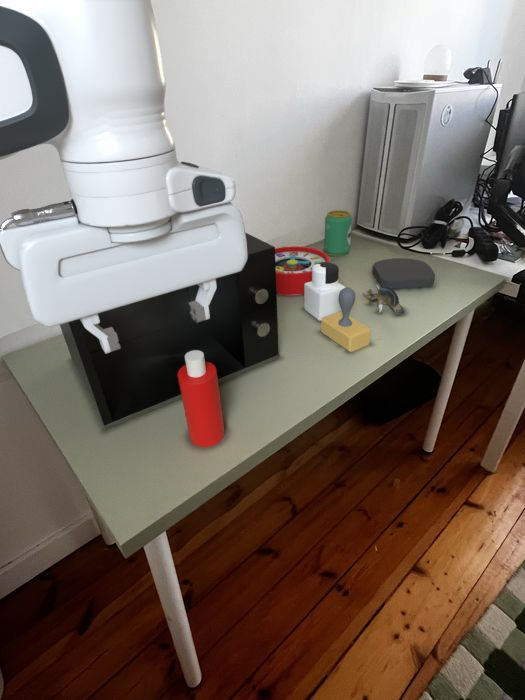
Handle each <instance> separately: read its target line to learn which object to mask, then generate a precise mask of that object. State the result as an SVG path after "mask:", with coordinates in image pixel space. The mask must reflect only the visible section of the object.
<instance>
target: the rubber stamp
mask: <svg viewBox="0 0 525 700" xmlns="http://www.w3.org/2000/svg"><path fill="white" fill-rule="evenodd" d="M338 300H339V304H340V307H341V310H342V312H338V313H335V314H332V315H329V316H327V317H324V318H322V320H321V321H320V323H321V325H320V332H321V333H322V334H323V335H325V336H327V337H328V338H329V339H330V340H332V341H334V342H335V343H336V344H338V345H339V346H341V347H342V348H344V349H345V350H347V351H348V352H350V353H352V352H355V351H357V350H359V349H362V348H364V347H366V346H369V345H370V341H371V331H372V330H371V328H369V327H367V326H366V325H365V324H363V323H361V322H359V321H358V320H356V319H354V318H352V317H351V316H350V313H351V311H352V308H353V306H354V305H355V302H356V293H355V290H354V289H353V288H351V287H346V288H344V289H342V290H341V291H340V293H339V298H338Z"/></svg>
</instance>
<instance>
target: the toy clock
mask: <svg viewBox="0 0 525 700" xmlns="http://www.w3.org/2000/svg"><path fill="white" fill-rule="evenodd" d="M275 261H276V289H277V295H281V296H302V295H304V284H305V283H307V282H311V281H312V267H313V266H314V265H315V264H318V263H321V262H330V257H329V255H328V254H327V253H326V252H324V251H322V250H320V249H317V248H313V247H308V246H295V245H293V246H281V247H275Z"/></svg>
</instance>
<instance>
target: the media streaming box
mask: <svg viewBox="0 0 525 700" xmlns="http://www.w3.org/2000/svg"><path fill="white" fill-rule="evenodd" d="M372 273H373V275H374V278H375V279H376V281H377V283H378V284H379V285H380V286H381V287H383V286H385V287H389V288H392V289H416V288H427V287H431V286H433V285H434V284H435V280H436V274H435V271H434V270H433V268H432V267H431V266H430V265H429V264H428V263H427V262H425V261H423V260H419V259H415V258H409V257H407V258H406V257H397V258H396V257H394V258H386V259H381V260H378V261H376V262H374V263H373V266H372Z"/></svg>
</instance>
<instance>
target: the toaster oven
mask: <svg viewBox="0 0 525 700" xmlns="http://www.w3.org/2000/svg"><path fill="white" fill-rule="evenodd" d="M245 234H246V241H247V251H248V259H247V262H246V264H245V266H244V268H243V269H242V270H241V271H240V272H237V273H233V274H230V275H226V276H223V277H220V278H216V285H217V288H216V291H215V293H214V295H213V298H212V300H211V302H210V305H208V306H209V314H210V319H207V320H204V321H201V322H198V323H196V322H195V320H193V319H192V318H191V315H190V311H191V310H190V309H189V304H188V303H190V302H193V301H196V300H195V299H196V296H197V293H198V290H199V287H200V286H199V285H197V284H196V285H192V286H189V287H186V288H182V289H179V290H175V291H172V292H169V293H165V294H162V295H158V296H155V297H152V298H148V299H145V300H142V301H138V302H135V303H131V304H128V305H125V306H121V307H118V308H114V309H111V310H108V311H104V312H101V313H98V316H99V320H100V323H98V325H99V326H100V327H102V328H103V329H106V328H110V327H112V328H113V329H114V331H115V332H116V334H117V336H118V339H119V341H118V342H119V344H120V346H121V349H118V350H115V351H113V352H110V353H107V354H105V352H104V350H103V349H102V346H101V344H100V341H99V338H97V337H96V336H95V335H93V334H92V333H91V332H90V331H88V330H87V329H86V328H85V327H84V326H83V324H82V322H81V320H80V319H77V320H74V321H70V322H67V323H64V324H60V325H59V327H60V329H61V333H62V336H63V339H64V341H65V344H66V346H67V349H68V353H69V355H70V358H71V360H72V362H73V365H74V367H75V370H76V371H77V373H78V375H79V378H80V379H81V381H82V384H83V386H84V389H85V390H86V393H87V394H88V396H89V399H90V400H91V403H92V405H93V407H94V409H95V411H96V413H97V415H98V418H99V419H100V422H101V423H102V426H103V428H104V430H105V431H107V430H110V429H112V428H115V427H117V426H119V425H121V424H124V423H126V422H129V421H131V420H134V419H136V418H139V417H141V416H144V415H146V414H148V413H151V412H153V411H156V410H158V409H161V408H163V407H165V406H168V405H170V404H173V403H175V402H177V401H180V400H182V395H181V390H180V385H179V380H178V371H179V370H180V369H181V368H182V367H183V366H184V365H186V362H185V355H186V353H188V352H190V351H193V350H199V351H202V352H203V353H204V359H205V361H206V362H209V363H211V364H213V365H214V366H215V368H216V371H217V379H218V385H219V384H221V383H223V382H226V381H228V380H231V379H233V378H236V377H238V376H240V375H243V374H246V373H248V372H251V371H252V370H255V369H257V368H258V369H259V368H260V367H262V366H264V365H267V364H270V363H273V362H275V361H278V360H279V359H280V351H279V350H280V349H279V346H280V345H279V323H278V321H279V319H278V294H277V289H276V261H275V249H276V247H275V246H273V245H271V244H270V243H267V242H266V241H264V240H262V239H259V238H258V237H256V236H254V235H252V234H250V233H248V232H246V231H245Z"/></svg>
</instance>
